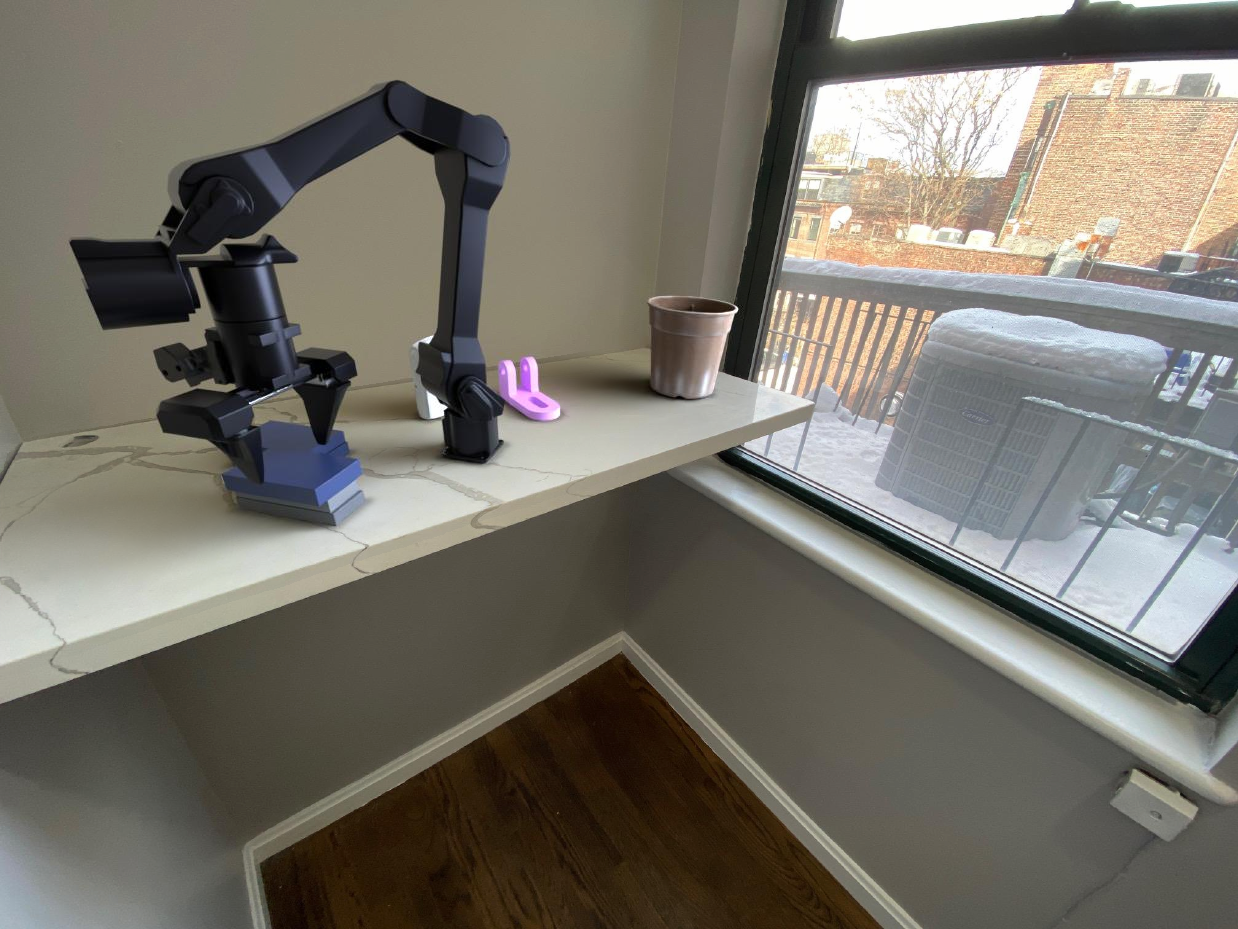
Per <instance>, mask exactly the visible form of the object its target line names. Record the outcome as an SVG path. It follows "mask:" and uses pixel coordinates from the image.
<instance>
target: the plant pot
mask: <svg viewBox="0 0 1238 929" xmlns="http://www.w3.org/2000/svg"><path fill="white" fill-rule="evenodd" d="M646 304H647V306H648V312H649V314H648V317H649V320H648V322H649V325H650V382H649V383H650V387H651V389H652V390H653V391H656V393H658V394H661V395H664V396H667V397H671V398H677V397H679V396H680V397H682V398H684V399H686V400H687V399H689V400H691V399H694V400H695V399H703V398H706V397H708V396H711V395H712V394H713V393H714V389H715V384H716V380H717V376H718V372H719V368H720V364H721V360H722V358H723V357H722V356H723V352H724V349H725V344H726V342H727V337H728V333H730V331H731V329H732V325H733V321H734V317H735V314H737V313H738V311H739V308H738V306H736V305H735V304H732V303H731V302H727V301H723V300H718V299H712V298H708V297H700V296H691V295H657V296H652V297H649V298H648V299H647V300H646Z"/></svg>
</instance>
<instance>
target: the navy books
mask: <svg viewBox="0 0 1238 929" xmlns="http://www.w3.org/2000/svg"><path fill="white" fill-rule="evenodd" d="M259 426H260V429H261V439H262V451H265V450H267V449H269V448H271V447H272V446H279V447H285V448H291V449H298V450H304V451H311V452H317V453H323V454H330V455H336V456H343V457H346V455H348V454H349V453H350V452H351V450H350V447H349V442H348V441H346V437H345V433H344V430H341V429H340V430H339V429H334V428H333V429H332V432H331V435H330V438H329V441H328V444H326V445H319V444H317V442H316V439H315V437H314V435H313V432H312V429H311V426H310V425H305V424H299V423H293V422H286V421H278V420H273V419H272V420H271V419H270V420H268V421H266V422H264V423H262V424H260V425H259ZM232 465H234V466H235V464H234V463H233V462H232Z"/></svg>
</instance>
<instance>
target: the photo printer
mask: <svg viewBox="0 0 1238 929" xmlns="http://www.w3.org/2000/svg"><path fill="white" fill-rule="evenodd" d="M433 336H434V334H433V335H429V336H427V337H424V338H422V339H420V340H418V341H416V342H414V343H413V344H411V345H410V347H409V350H408V354H409V355H408V356H409V362H410V369H411V375H412V381H413V382H412V383H413V388H414V395H415V401H416V408H417V412H418V414H419V417H420V418H421V419H424V420H433V419H438V418H441V417H444V410H445V409H446V408H447V407H446V406H444V405H442V404H440V403H439V402H438V400H437V398H436V397H435V396H434V395H432V394H430V393H429V392H428V391H427V390H426V389H425V388H424V387H423V386H422V383H421V377H420V375H419V374H417V373H416V372H415V371H416V369H417V367H418V363H419V354H418V343H419V342H424V343H430V341H431V339H432V338H433Z"/></svg>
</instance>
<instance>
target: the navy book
mask: <svg viewBox="0 0 1238 929" xmlns="http://www.w3.org/2000/svg"><path fill="white" fill-rule="evenodd" d="M263 462H264V483H263V484H261V485H259V484H253V483H252V482H251V481H250V480H249V479H248V478H247V477H246V476H245V475H244V474H243V473H242V472H241V471H240V470H239V469H238V468H237V467H236V466H235V465H234V466H233V467H232V468H230V469H228V470H226V471H225V472H222V473H221V474H220V476H221V479H222V481H223V483H224V487H225V489H226V491H228V492H233V493H235V492H239V493H245V494H250V495H256V496H262V497H268V498H273V499H279V500H285V501H291V502H296V503H302V504H308V505H314V506H321V505H322V504H323V503H325V502H326V501H327V500H329V499H330V498H331V497H333V496H334V495H335V494H337V493H338V492H339V491H341V490H342V489H343V488H345V487H346V486H347V485H349V484H350V483H351V482H353V481H354V480H355V479H357V480H358V478H360V477H362V475H363V471H362V466H361V461H360V459H359V458H355V457H348V456H336V455H330V454H323V453H317V452H311V451H304V450H298V449H291V448H285V447H279V446H272V447H271V448H269V449H267V450H265V451H263Z"/></svg>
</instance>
